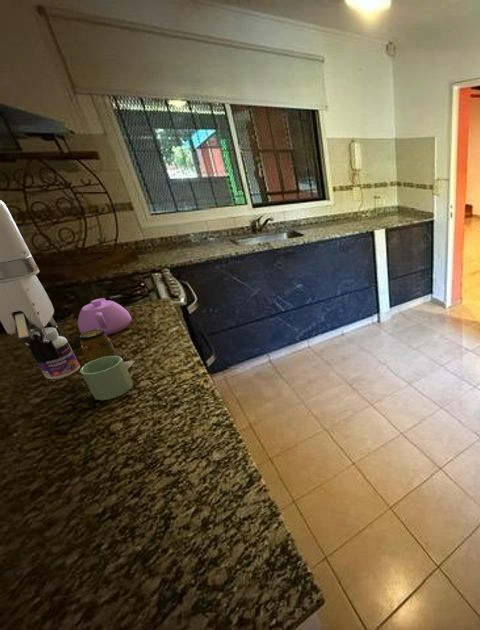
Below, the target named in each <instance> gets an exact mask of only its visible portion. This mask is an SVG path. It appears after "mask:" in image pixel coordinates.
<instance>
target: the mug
mask: <svg viewBox="0 0 480 630" xmlns="http://www.w3.org/2000/svg"><path fill="white" fill-rule="evenodd" d="M124 362H125V361H124V360H123V358H122V356H119V355H118V356H106V357H102V358H98V359H96V360H93V361H91V362H87V363H85V364H84V365H83V366H82V367H80V368H79V373H80V376H81V377H82V380H83V381H84V382H85V384H86V387H87V388H88V391H89V392H90V394H91V396H92V397H93V398H94V400H97V401H106V400H112V399H115V398H117V397H120V396H123V395H124V394H125V393H128V392H129V391H130V390H132V388H133V386H134V382H133V380H132V376H131V375H130V373H129V371H128V370H129V369H128V370H127V368H126V366H125V364H124Z"/></svg>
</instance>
